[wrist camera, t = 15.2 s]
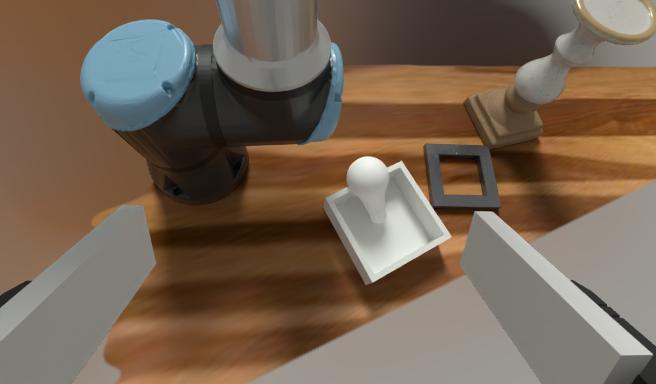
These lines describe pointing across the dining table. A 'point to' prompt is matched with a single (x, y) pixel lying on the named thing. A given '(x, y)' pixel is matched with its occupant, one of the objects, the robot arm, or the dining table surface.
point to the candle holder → (556, 69)
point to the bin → (386, 226)
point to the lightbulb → (370, 185)
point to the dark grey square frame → (461, 201)
